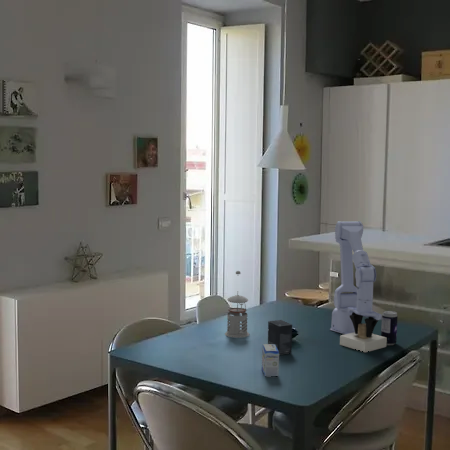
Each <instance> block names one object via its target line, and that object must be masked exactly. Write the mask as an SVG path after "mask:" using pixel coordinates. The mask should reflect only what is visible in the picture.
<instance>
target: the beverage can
mask: <svg viewBox="0 0 450 450" xmlns="http://www.w3.org/2000/svg"><path fill="white" fill-rule="evenodd" d="M380 328H381V329H380V330H381V331H380V332H381V334H380V336H383V337H386V338H387V343H386V346H394V345H395V344H396V343H397V337H398V336H397V335H398V334H397V333H398V312H396V311H393V310H384V311H383V312H382V317H381V327H380Z"/></svg>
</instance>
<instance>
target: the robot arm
mask: <svg viewBox="0 0 450 450" xmlns="http://www.w3.org/2000/svg"><path fill="white" fill-rule="evenodd" d="M334 228H335V229H334V231H335V232H334V234H335V235H334V236H335V237H334V238H335V242H336V243H338V244H339V249H340V250H339V253H340V254H339V255H340V279H341V280H340V283H341V284H340V285H339V286H338V287H337V288H336V289H335V290H334V294H333V295H334V296H333V304H334V307H335V308H333V310H332V312H331V325H330V326H331V327H330V328H329V330H330V331H333V332H335V333H340V334H342V335H345V334H349V333H353V332H355V334H358V324H360V323H363V322H362V321H363V318H364V317H366V318H364V322H365V324H366V336H367V337H372V334H374V330H375V327H376V325H377V323H378V322H379V321H382V314H383V313H382V314H381V313H379V312H377V311H374V310H373V303H374V302H373V300H374V283H375V282H376V281H377V280H376V279H377V271H376V267H375V266H373V264H371V261H370V258H369V254H368V253H367V251H365V250H364V248H363V247H364V245H363V242H362V237H363V234H364V225H363V223H362V221H361V220H359V221H340V220H338V221H337V222H336V223H335V227H334ZM354 267H355V273H354ZM354 274H355V275H354ZM354 276H355V282H354ZM354 283H355V285H356V286H355V285H354Z"/></svg>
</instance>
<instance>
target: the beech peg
mask: <svg viewBox="0 0 450 450" xmlns="http://www.w3.org/2000/svg"><path fill="white" fill-rule="evenodd" d="M358 338H361V339H368V338H369V337H367V336H366V323H363V322H362V323H360V324H358Z"/></svg>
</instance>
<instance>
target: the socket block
mask: <svg viewBox="0 0 450 450" xmlns="http://www.w3.org/2000/svg"><path fill="white" fill-rule="evenodd" d="M386 343H387V338H386V337H383V336H381V335H378V334H374V333H372V337H369V338H368V339H361V338H358V334H355V332H353V333H349V334H342V335H341V334H340V336H339V346H342V347H343V346H344V347H346V348H349V349H353V350H355V349H356V351H358V350H360V351H359V352H362V351H363V352H362V353H368V351H369V352H373V351H377V350H379V349H380V350H381V349H383V348H387V345H386Z"/></svg>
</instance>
